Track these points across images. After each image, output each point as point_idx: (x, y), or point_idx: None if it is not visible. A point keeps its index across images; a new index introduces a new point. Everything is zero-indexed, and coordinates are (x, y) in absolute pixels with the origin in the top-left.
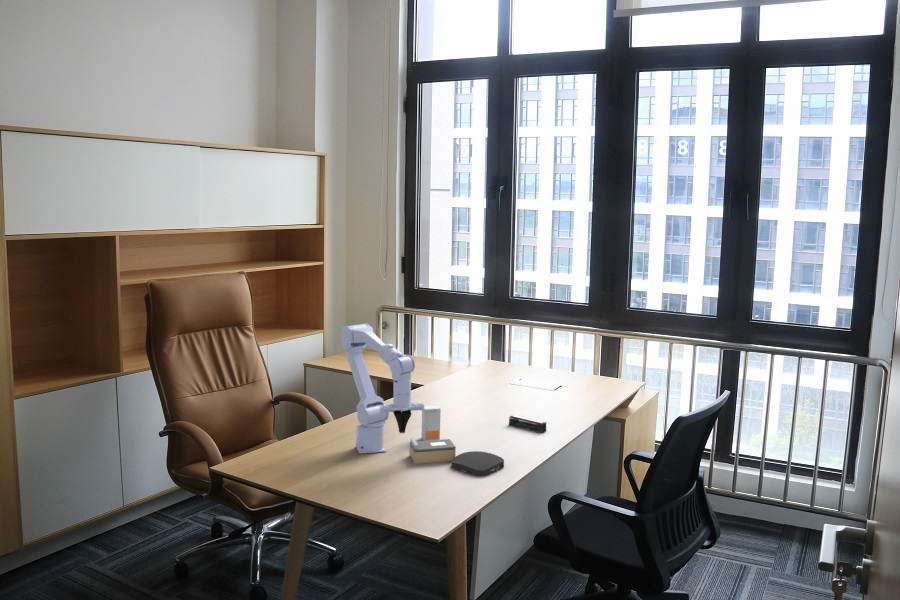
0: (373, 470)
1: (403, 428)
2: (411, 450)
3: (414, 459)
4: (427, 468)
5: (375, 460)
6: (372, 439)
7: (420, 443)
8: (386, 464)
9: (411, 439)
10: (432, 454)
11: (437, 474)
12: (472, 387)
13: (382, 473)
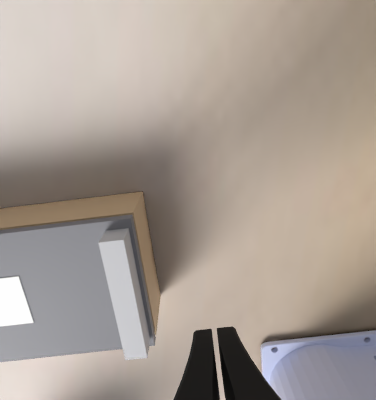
0: (359, 125)
1: (209, 355)
2: (149, 280)
3: (139, 198)
4: (76, 126)
5: (324, 253)
6: (352, 393)
7: (91, 318)
8: (280, 200)
9: (142, 340)
10: (31, 217)
11: (18, 27)
12: None
13: (321, 76)
